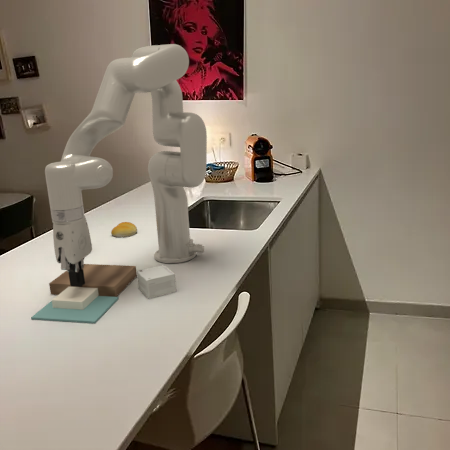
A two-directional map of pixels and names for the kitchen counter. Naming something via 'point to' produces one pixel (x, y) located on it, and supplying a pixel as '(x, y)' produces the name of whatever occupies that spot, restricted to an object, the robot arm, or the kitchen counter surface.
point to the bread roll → (124, 230)
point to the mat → (77, 311)
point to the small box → (156, 281)
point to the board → (99, 279)
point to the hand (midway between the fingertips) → (77, 284)
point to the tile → (75, 298)
